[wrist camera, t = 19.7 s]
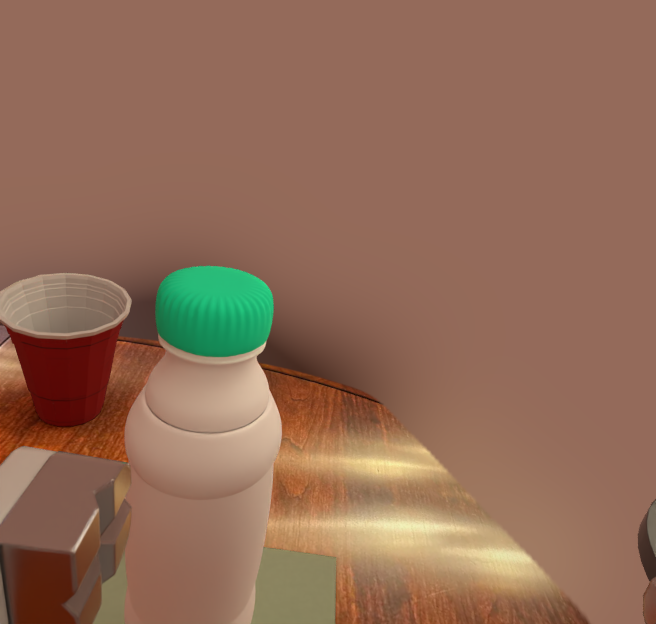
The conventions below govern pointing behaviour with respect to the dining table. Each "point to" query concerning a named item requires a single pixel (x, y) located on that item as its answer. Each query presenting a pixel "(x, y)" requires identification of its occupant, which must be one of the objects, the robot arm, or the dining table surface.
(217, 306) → the water bottle
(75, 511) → the robot arm
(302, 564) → the mat
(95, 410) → the plastic cup
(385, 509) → the dining table surface
